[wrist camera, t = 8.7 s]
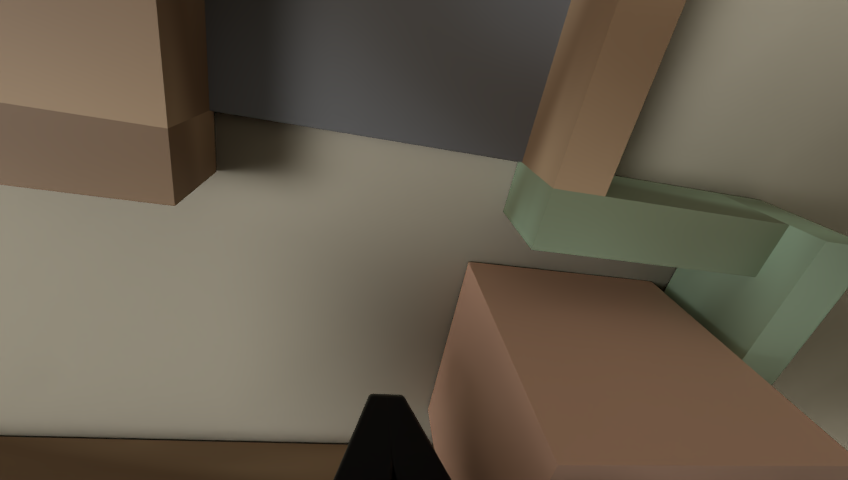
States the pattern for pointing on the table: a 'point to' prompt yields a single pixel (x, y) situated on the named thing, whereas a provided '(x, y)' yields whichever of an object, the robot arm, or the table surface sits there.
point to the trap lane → (402, 122)
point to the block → (606, 389)
